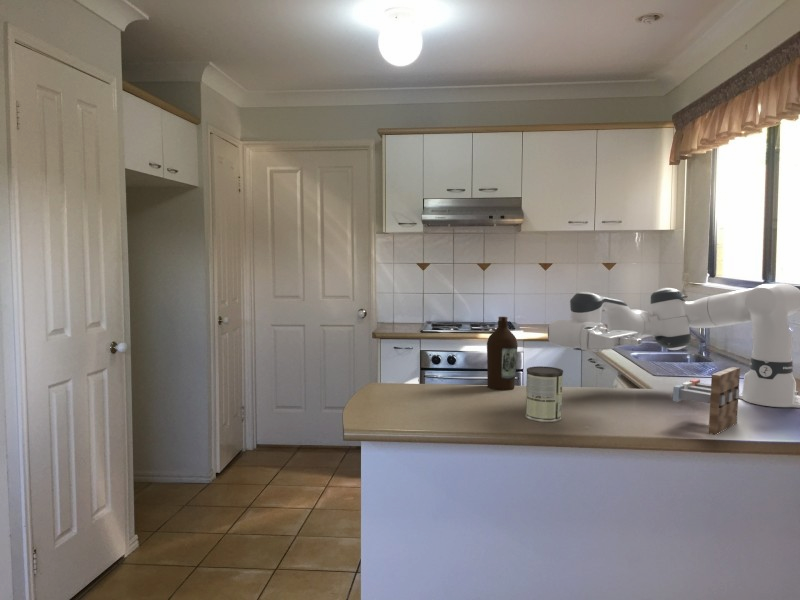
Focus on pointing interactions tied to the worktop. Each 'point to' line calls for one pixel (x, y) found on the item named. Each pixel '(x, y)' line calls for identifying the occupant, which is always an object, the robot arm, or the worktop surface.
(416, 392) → the worktop surface
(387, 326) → the worktop surface
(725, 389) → the walnut panel
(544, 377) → the coffee can
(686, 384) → the off-white plunger
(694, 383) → the brick-red plunger
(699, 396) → the blue-capped grey rod
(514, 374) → the olive oil
